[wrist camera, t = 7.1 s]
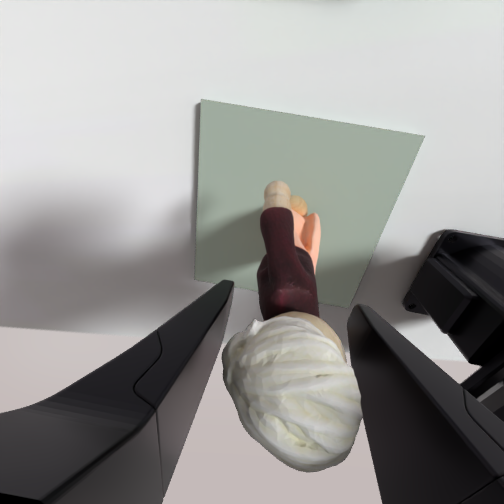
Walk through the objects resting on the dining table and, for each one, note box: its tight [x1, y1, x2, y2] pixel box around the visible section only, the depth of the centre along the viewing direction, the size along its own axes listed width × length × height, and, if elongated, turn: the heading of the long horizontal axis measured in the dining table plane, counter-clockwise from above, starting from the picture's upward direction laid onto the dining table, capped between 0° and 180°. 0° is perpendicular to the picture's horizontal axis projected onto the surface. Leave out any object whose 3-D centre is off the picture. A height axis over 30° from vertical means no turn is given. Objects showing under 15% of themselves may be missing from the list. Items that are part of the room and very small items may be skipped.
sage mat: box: [194, 99, 425, 308], centre depth 16 cm, size 12×12×1 cm
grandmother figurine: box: [222, 181, 363, 472], centre depth 10 cm, size 8×4×13 cm, turn 19°
